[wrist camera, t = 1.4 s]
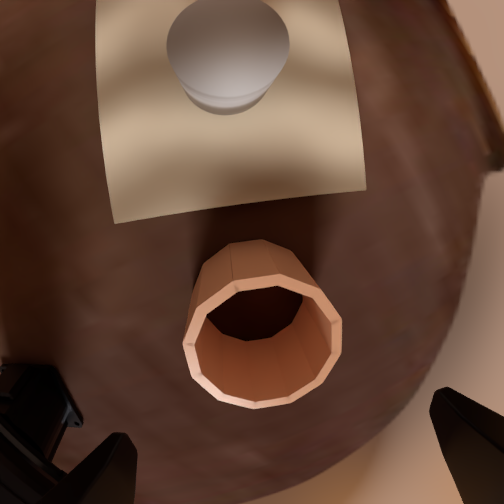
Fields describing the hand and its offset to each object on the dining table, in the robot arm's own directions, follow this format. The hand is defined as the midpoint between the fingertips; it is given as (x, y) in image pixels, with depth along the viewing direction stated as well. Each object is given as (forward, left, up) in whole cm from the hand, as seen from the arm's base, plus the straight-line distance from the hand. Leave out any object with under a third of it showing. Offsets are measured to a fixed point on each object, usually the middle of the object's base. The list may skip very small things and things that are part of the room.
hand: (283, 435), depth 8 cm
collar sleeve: (-1, 0, -12) cm, 12 cm away
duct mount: (+12, 0, -12) cm, 17 cm away
